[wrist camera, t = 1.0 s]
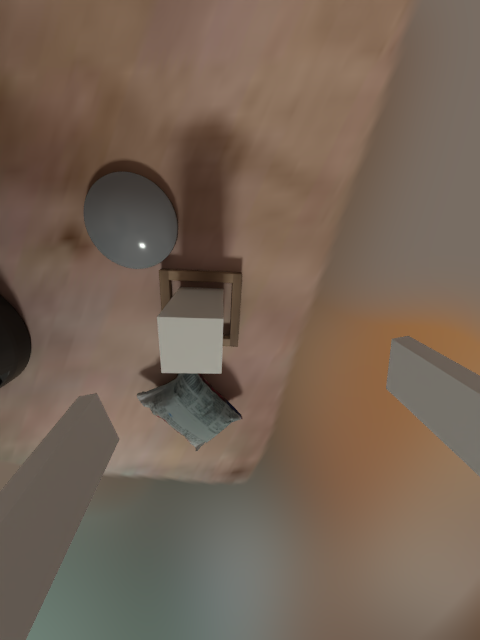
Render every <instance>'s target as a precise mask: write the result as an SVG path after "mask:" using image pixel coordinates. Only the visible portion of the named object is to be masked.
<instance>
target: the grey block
mask: <svg viewBox="0 0 480 640" xmlns="http://www.w3.org/2000/svg"><path fill="white" fill-rule="evenodd" d="M157 322H158V335H159V348H160V361H161V373H208V374H222V346H223V289H219V288H195V287H180V288H179V289H178V291H177V292H176V293H175V295H174V296H173V297H172V298H171V300H170V301H169V302H168V304H167V305H166V306H165V307H164V309H163V310H162V311H161V313H160V314H159V315H158V316H157Z"/></svg>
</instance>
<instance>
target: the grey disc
mask: <svg viewBox="0 0 480 640" xmlns="http://www.w3.org/2000/svg"><path fill="white" fill-rule="evenodd" d="M84 221H85V225H86V229H87V231H88V234H89V236H90V238H91V240H92V241H93V243H94V245H95V246H96V247H97V248H98V250H99V251H100V252H101V253H102V254H103V255H105V256H106V257H107V258H108V259H110V260H111V261H113V262H115V263H117V264H119V265H121V266H124V267H128V268H134V269H143V268H148V267H152V266H154V265H156V264H158V263H160V262H161V261H163V260H164V259H165V258H167V257H168V255H169V254H170V253H171V251H172V250H173V248H174V246H175V244H176V240H177V236H178V220H177V216H176V212H175V209H174V207H173V205H172V203H171V201H170V200H169V198H168V197H167V195H166V194H165V193H164V192H163V191H162V190H161V189H160V188H159V187H158V186H157V185H156V184H154V183H153V182H152V181H150V180H148V179H147V178H145V177H143V176H141V175H138V174H135V173H131V172H114V173H110V174H107V175H105V176H103V177H101V178H100V179H99V180H97V181H96V182H95V183H94V184H93V185H92V187H91V188H90V190H89V192H88V194H87V196H86V199H85V204H84Z"/></svg>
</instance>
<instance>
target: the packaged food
mask: <svg viewBox="0 0 480 640" xmlns="http://www.w3.org/2000/svg"><path fill="white" fill-rule="evenodd" d="M137 397H138V399H139V401H141V403H142V404H143V405H144V406H145V407H149V408H150V409H151V411H152V413H153V414H154V415H156V416H158V417H160V418H162V419H163V420H164V421H166V422H167V423H168V424H169V425H171V426H172V427H173V428H174V429H175V430H176V431H177V432H178V433H180V434H181V435H183V436H185V438H186V439H187V440H188V441H189V442H190V443H191V444H192V445H194V446H195V448H196V451H198V449H199V448H200V447H201V446H202V445H203V444H204V443H205V442H206V443H207V442H208V441H209V440H211V439H212V438H214V437H215V436H216V435H217V434H218V433H220V432H221V431H222V430H223V429H224V428H226V427H227V426H228V425H229V424H230V423H231V422H234V421H236V420H240V419H242V416H241V414H240V413H239V412H238V411H237V410H236V409H235V408H234V407H233V406H232V405H231V404H230V403H229V402H228V401H227V400H226V399H225V398H224V397H222V396H221V395H220V394H219V393H218V392H217V391H215V390H214V389H213V387H212V386H211V385H210V384H209V383H208V382H207V381H206V380H205V379H204V377H203V376H202V375H201V374H200V373H178V376H177V377H176V379H174V380H173V381H171V382H169V383H168V384H166V385H163V386H159V387H157V388H155V389H152V390H149V391H147V392H142V393H138V394H137Z"/></svg>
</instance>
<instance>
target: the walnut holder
mask: <svg viewBox="0 0 480 640" xmlns="http://www.w3.org/2000/svg"><path fill="white" fill-rule="evenodd" d="M159 280H160V295H161V309H162V310H163V309H164V307H165V306H166V305H167V304H168V302H169V301H170V300H171V298H172V285H171V280H178V281H201V282H224V283H232V299H231V321H230V335H223V346H233V347H238V334H239V318H240V302H241V285H242V273H241V272H220V271H199V270H178V269H160V270H159Z"/></svg>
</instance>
